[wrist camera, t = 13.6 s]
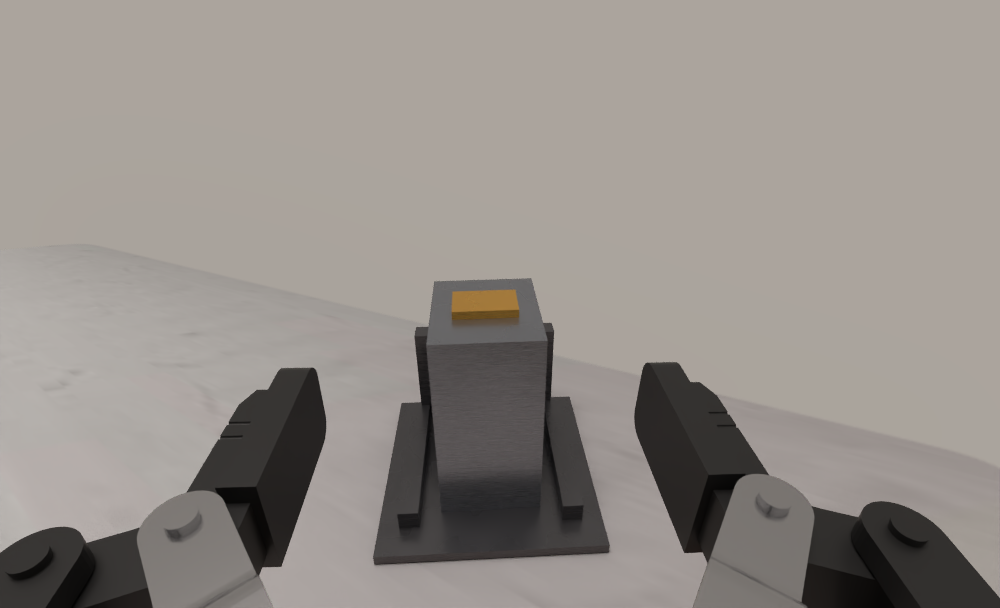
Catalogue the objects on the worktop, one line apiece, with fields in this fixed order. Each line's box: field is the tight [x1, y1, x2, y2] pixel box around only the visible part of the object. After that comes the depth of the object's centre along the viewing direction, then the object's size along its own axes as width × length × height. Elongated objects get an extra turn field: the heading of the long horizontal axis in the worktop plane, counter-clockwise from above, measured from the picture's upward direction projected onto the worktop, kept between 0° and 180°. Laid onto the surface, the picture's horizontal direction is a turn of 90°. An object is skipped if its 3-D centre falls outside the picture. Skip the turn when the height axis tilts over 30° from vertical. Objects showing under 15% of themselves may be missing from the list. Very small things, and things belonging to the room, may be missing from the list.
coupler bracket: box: [373, 323, 610, 564], centre depth 27 cm, size 11×11×6 cm
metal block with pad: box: [426, 278, 548, 513], centre depth 26 cm, size 6×5×10 cm
